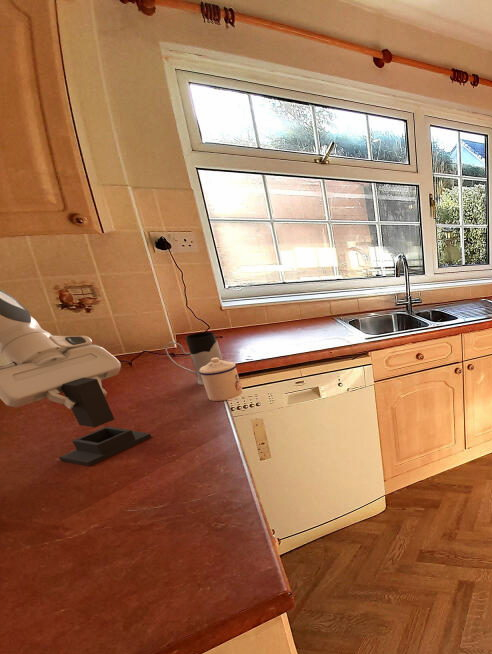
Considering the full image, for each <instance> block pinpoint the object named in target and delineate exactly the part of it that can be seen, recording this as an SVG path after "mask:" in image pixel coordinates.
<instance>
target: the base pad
mask: <svg viewBox="0 0 492 654" xmlns="http://www.w3.org/2000/svg"><path fill="white" fill-rule="evenodd" d="M151 438H152V435H151V433H148V432H142V431H136V430H132V429H128V428H119V427H114V426H105V427H102V428H100V429H98V430H94V431H91V432H90V433H87V434H85V435H83V436H80V437H78V438H75V439H73V440H72V444H73V445H74V447H75V449H74V450H72V451H70V452H68V453H65V454H63V455H61V456H59V460H60V461H61V462H64V463H70V464H75V465H80V466H85V467H86V466H87V467H92V466H94V465H96V464H97V463H100V462H102V461H105V460H106V459H108V458H110V457H113V456H115V455H117V454H119V453H121V452H124V451H125V450H127V449H130V448H131V447H132V448H133V447H134V446H136V445H138V444H140V443H142V442H145V441H146V440H149V439H151Z"/></svg>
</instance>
